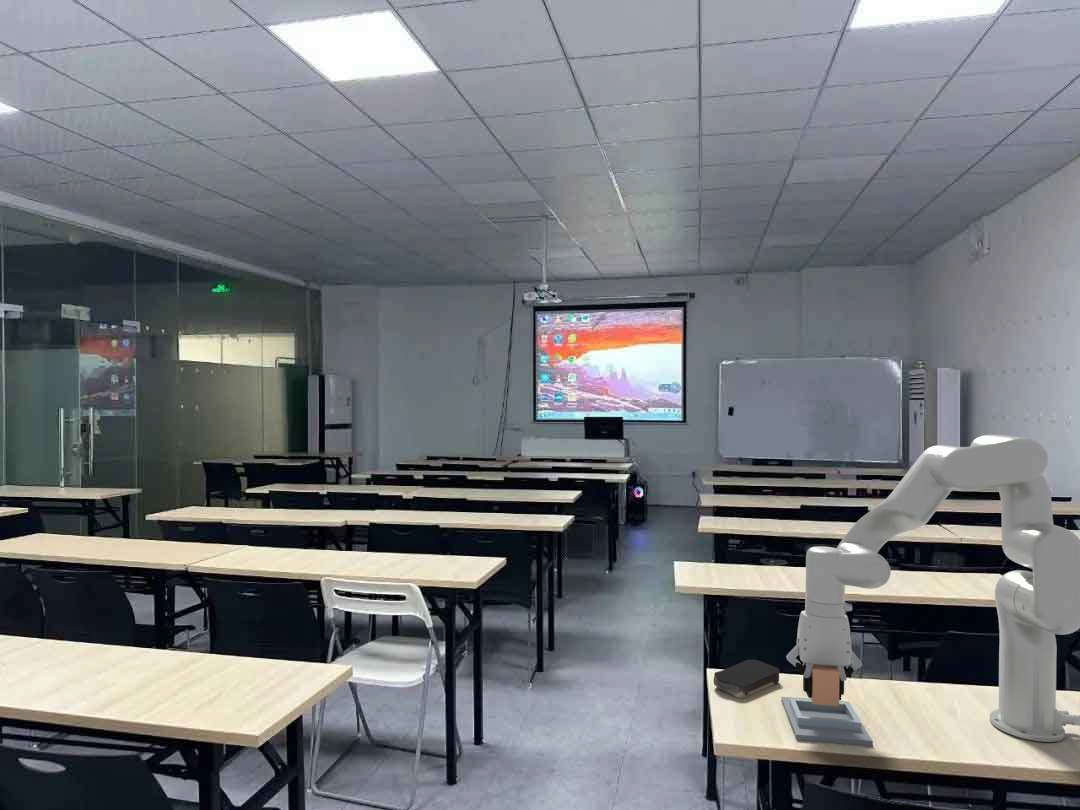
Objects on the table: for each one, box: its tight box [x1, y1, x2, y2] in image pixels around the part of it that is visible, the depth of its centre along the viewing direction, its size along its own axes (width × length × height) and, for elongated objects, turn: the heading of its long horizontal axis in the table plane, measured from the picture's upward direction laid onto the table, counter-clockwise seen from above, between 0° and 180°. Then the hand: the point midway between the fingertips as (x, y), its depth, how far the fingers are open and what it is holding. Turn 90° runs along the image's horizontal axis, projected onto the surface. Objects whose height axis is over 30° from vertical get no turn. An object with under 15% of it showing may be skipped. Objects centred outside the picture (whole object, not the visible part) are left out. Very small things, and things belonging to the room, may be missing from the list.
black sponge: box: [713, 659, 780, 699], centre depth 164 cm, size 16×8×4 cm, turn 129°
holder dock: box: [780, 696, 874, 747], centre depth 145 cm, size 14×18×2 cm
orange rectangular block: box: [809, 665, 840, 706], centre depth 145 cm, size 5×5×7 cm
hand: (823, 695), depth 145 cm, fingers closed on orange rectangular block, 5 cm apart
